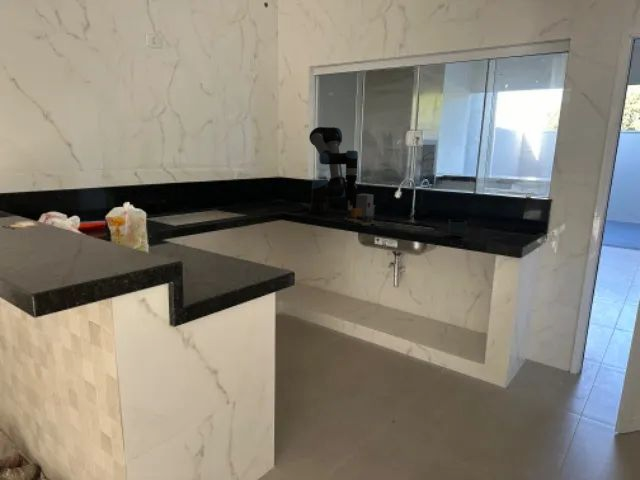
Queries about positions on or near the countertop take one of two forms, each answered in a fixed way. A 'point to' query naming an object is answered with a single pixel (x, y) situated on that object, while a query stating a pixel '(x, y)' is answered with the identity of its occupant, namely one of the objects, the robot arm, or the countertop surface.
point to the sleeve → (356, 212)
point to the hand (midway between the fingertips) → (350, 210)
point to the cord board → (361, 220)
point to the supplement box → (365, 204)
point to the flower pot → (457, 227)
